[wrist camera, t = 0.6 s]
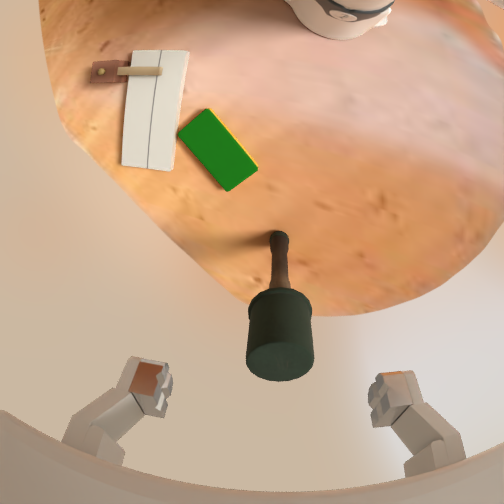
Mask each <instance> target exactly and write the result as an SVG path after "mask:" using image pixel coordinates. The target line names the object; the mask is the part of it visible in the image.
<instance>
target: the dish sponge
mask: <svg viewBox="0 0 504 504" xmlns="http://www.w3.org/2000/svg"><path fill="white" fill-rule="evenodd" d="M178 136H179V138H180V139H181V140H182V141H183V142H184V143H185V144H186V146H187V147H188V148H189V149H190V150H191V151H192V152H193V154H194V155H195V156H196V157H197V158H198V159H199V161H200V162H201V163H202V164H203V165H204V166H205V168H206V169H207V170H208V171H209V172H210V173H211V174H212V176H213V177H214V178H215V179H216V180H217V181H218V183H219V184H220V185H221V186H222V187H223V188H224V190H225V191H227V192H229V191H230V190H231V189H233V188H234V187H236V186H237V185H238V184H240V183H241V182H242V181H244V180H245V179H246V178H248V177H249V176H251V175H252V174H253V173H255V172H256V171H258V164H257V163H256V162H255V160H254V159H253V158H252V157H251V155H250V154H249V153H248V152H247V151H246V149H245V148H244V147H243V146H242V144H241V143H240V142H239V141H238V140H237V138H236V137H235V136H234V135H233V134H232V132H231V131H230V130H229V129H228V128H227V126H226V125H225V124H224V123H223V122H222V121H221V119H220V118H219V117H218V116H217V115H216V114H215V112H214V111H213V110H212V109H211V108H208V109H205V110H204V111H203V112H202V113H200V114H199V115H198V116H197V117H196V118H195V119H193V120H192V121H191V122H190V123H189V124H188V125H186V126H185V127H184V128H183V129H182V130H181V131H180V132H179V133H178Z"/></svg>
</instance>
